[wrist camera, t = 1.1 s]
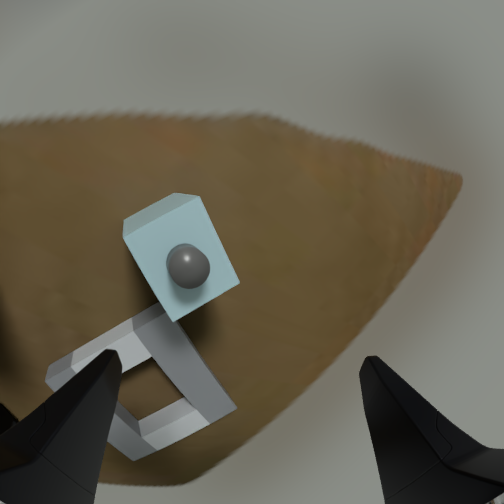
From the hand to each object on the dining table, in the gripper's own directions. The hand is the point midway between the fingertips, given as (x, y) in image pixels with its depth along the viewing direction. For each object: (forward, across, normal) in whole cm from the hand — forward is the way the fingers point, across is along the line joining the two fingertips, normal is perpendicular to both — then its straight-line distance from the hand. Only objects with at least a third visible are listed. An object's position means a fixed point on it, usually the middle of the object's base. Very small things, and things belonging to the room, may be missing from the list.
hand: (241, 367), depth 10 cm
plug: (+14, +6, +2) cm, 15 cm away
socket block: (+9, +9, +15) cm, 20 cm away
